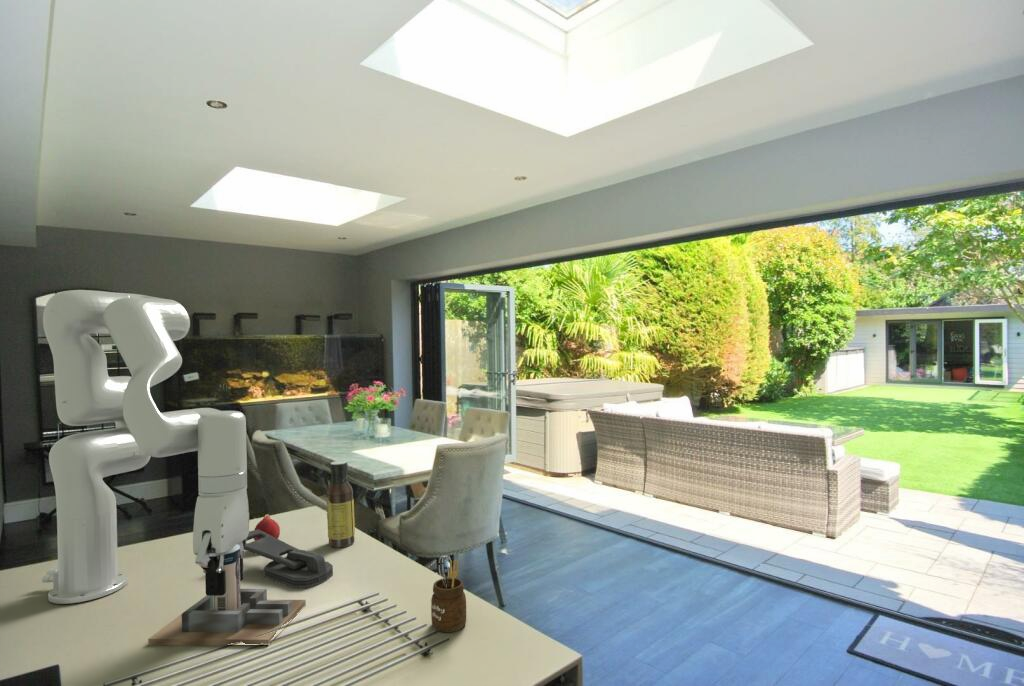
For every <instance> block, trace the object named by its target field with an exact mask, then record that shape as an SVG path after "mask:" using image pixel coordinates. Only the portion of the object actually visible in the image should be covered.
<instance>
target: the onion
mask: <svg viewBox="0 0 1024 686" xmlns="http://www.w3.org/2000/svg"><path fill="white" fill-rule="evenodd" d="M258 529H259V530H261V531H263V532H265V533H267V534H269V535H271V536H273V537H275V538H277V539H280V538H279V537H280V533H281V529H280V525H279V524H278V522H276V520H274V519H272V518H271V516H270V514H265V515H264V517H263V518H262V520H260V521H259V522H257V524H256V525H255V528H254V530H258ZM259 539H261V537H257V538H253V540H254V541H256V540H259Z"/></svg>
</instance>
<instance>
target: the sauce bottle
mask: <svg viewBox="0 0 1024 686" xmlns="http://www.w3.org/2000/svg"><path fill="white" fill-rule="evenodd" d="M329 469H330V477H331V478H330V484H329V486H328V488H327V490H326V512H327V513H326V519H327V537H328V545H329V546H331V547H332V548H345V547H349V546H351V545H354V543H355V535H356V530H355V526H356V525H355V505H354V501H355V500H354V489H353V487H352V485H351V483H349V481H348V480H349V478H348V471H347V470H348V461H347V460H336V461H332V462H330V464H329Z"/></svg>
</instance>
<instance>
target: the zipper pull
mask: <svg viewBox="0 0 1024 686" xmlns="http://www.w3.org/2000/svg"><path fill="white" fill-rule="evenodd" d="M257 537H261V539H259V540H256V541H255V540H254V538H257ZM252 539H253V540H254V541H251V542H248V541H250V540H252ZM247 542H248V543H247ZM244 551H247V552H249V553H253V554H255V555H257V556H261V557H263V558H266V559H269V560H272V561H269V562H268V563H266V565H265V566H264V567H263V568H264V569H263V570H264V571H263V572H264V576H263V577H264V578H265V579H268V580H271V581H274V582H276V581H277V583H279V582H280V584H281V583H282V585H284V584H285V585H284V586H287V587H290V588H293V589H309V588H313V587H316V586H319V585H321V584H323V583H324V582H327V581H328V580H330V578H331V577H333V576H334V571H333V564H332V563H330V562H329V561H327V560H326V559H325V557H324V556H323V555H322V553H318V552H314V551H310V550H305V549H299V548H297V547H295V546H292V545H290V544H289V543H286V542H284V541H283V540H280V538H278V539H277V538H275V537H273V536H271V535H269V534H267V533H265V532H263V531H261V530H259V529H258V530H255V529H254V530H249V535H248V537H247V539H246V544H245V546H244ZM284 555H286V556H284Z"/></svg>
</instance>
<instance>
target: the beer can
mask: <svg viewBox="0 0 1024 686" xmlns="http://www.w3.org/2000/svg"><path fill="white" fill-rule="evenodd" d="M212 552H216V550H215V549H212ZM211 560H214V561H215V562H216V563H217V557H212V558H211ZM222 571H225V578H226V593H225V594H224V595H222V596H210V611H235V610H236V609H237V608H238V607H240V606H241V600H240V589H241V581H240V546H239V544H236V545H235V546H234V547H232V548H231V549H230V550H228V551H227V552H225V555H224V563H223V570H222Z"/></svg>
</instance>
